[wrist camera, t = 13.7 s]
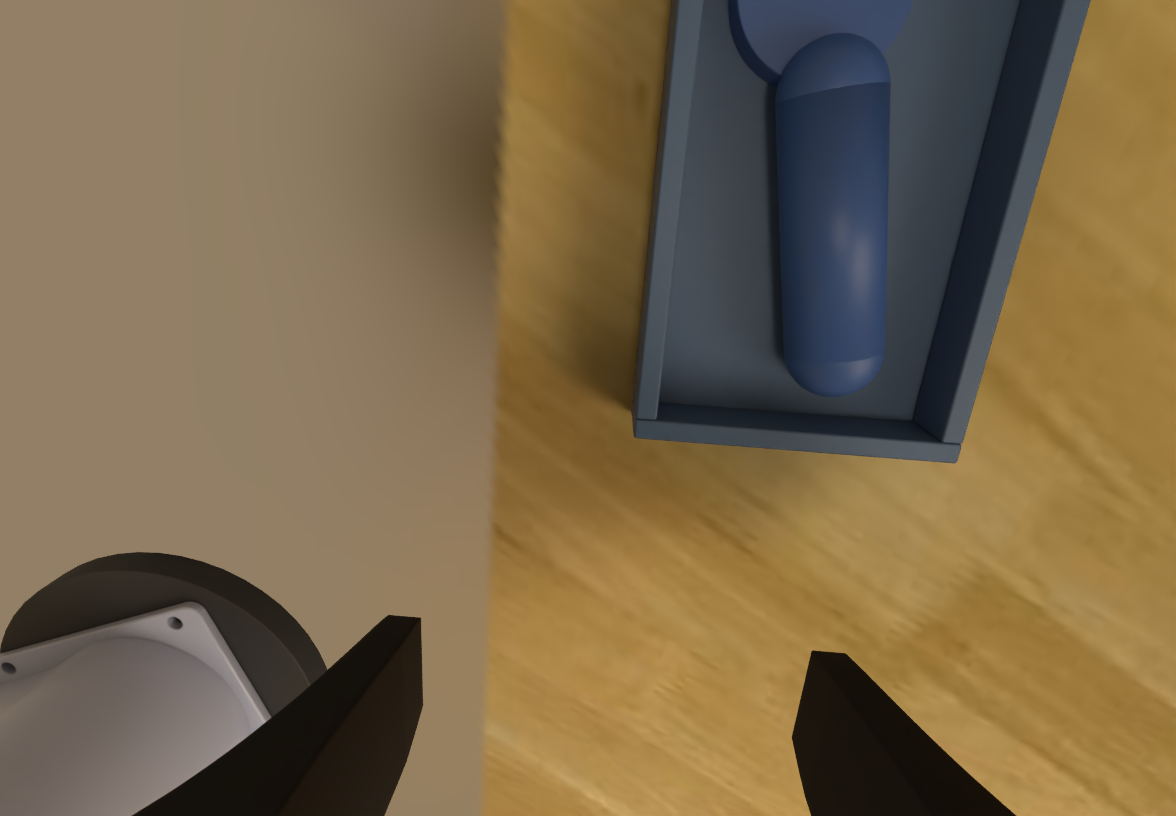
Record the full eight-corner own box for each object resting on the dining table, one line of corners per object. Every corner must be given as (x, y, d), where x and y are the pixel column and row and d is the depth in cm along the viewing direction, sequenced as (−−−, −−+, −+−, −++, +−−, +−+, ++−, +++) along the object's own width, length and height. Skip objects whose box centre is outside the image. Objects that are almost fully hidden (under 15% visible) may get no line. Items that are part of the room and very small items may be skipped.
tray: (918, 435, 19) (957, 464, 17) (631, 412, 19) (633, 439, 17) (1073, -157, 14) (1156, -223, 12) (689, -182, 14) (702, -251, 12)
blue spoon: (889, 373, 18) (933, 399, 16) (748, 390, 18) (769, 418, 16) (900, -117, 14) (960, -184, 12) (723, -85, 15) (745, -144, 12)
